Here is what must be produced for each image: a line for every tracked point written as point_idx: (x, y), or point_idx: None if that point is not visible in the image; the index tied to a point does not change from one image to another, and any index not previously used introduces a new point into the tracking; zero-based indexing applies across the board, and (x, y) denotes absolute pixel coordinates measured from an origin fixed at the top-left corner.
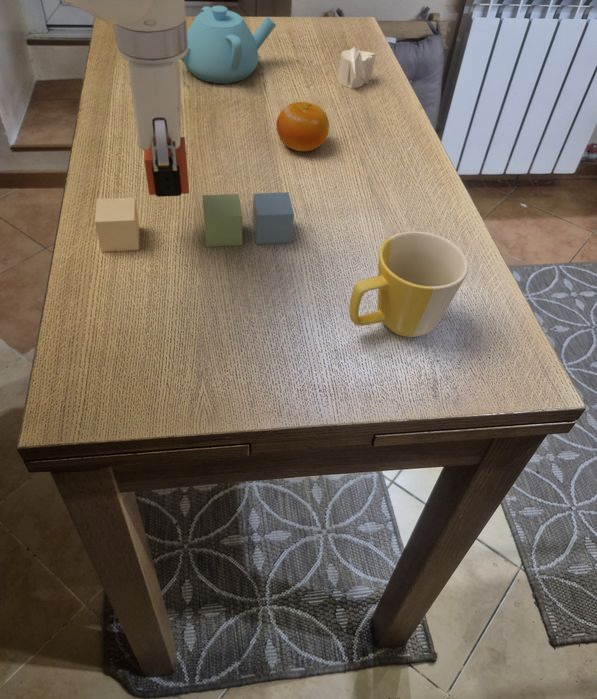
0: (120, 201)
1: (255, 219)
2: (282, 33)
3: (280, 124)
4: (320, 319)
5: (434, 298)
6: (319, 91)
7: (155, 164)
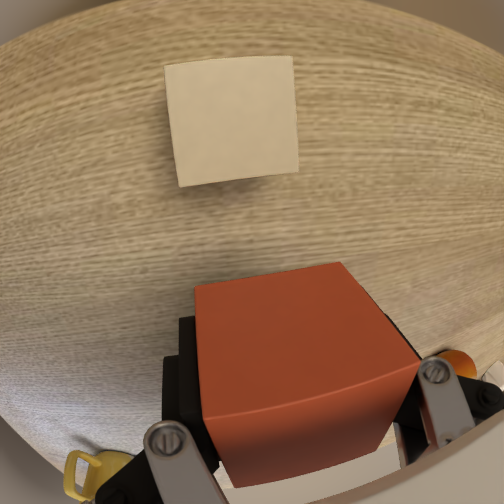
0: (279, 129)
1: None
2: None
3: (455, 372)
4: (90, 417)
5: None
6: (494, 351)
7: (103, 493)
